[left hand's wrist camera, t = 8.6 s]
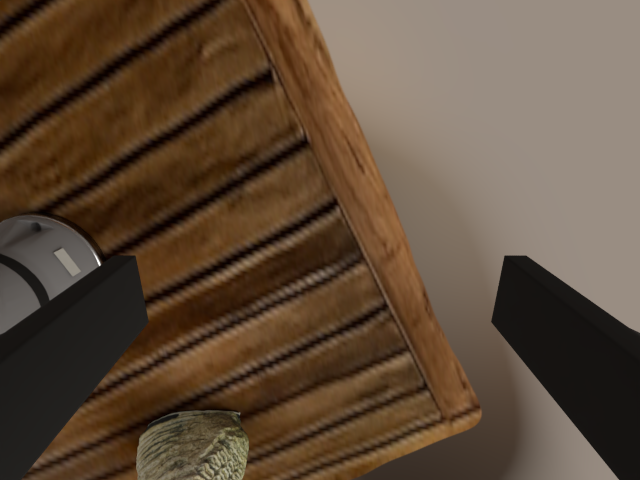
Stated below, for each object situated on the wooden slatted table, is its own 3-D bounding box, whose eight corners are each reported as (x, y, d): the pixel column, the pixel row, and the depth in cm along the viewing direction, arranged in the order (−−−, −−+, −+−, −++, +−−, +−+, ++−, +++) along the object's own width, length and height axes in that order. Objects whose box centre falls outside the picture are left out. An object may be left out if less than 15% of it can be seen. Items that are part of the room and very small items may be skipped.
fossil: (262, 428, 58) (244, 531, 44) (165, 458, 60) (118, 565, 46) (238, 389, 55) (210, 486, 41) (137, 423, 57) (77, 524, 43)
